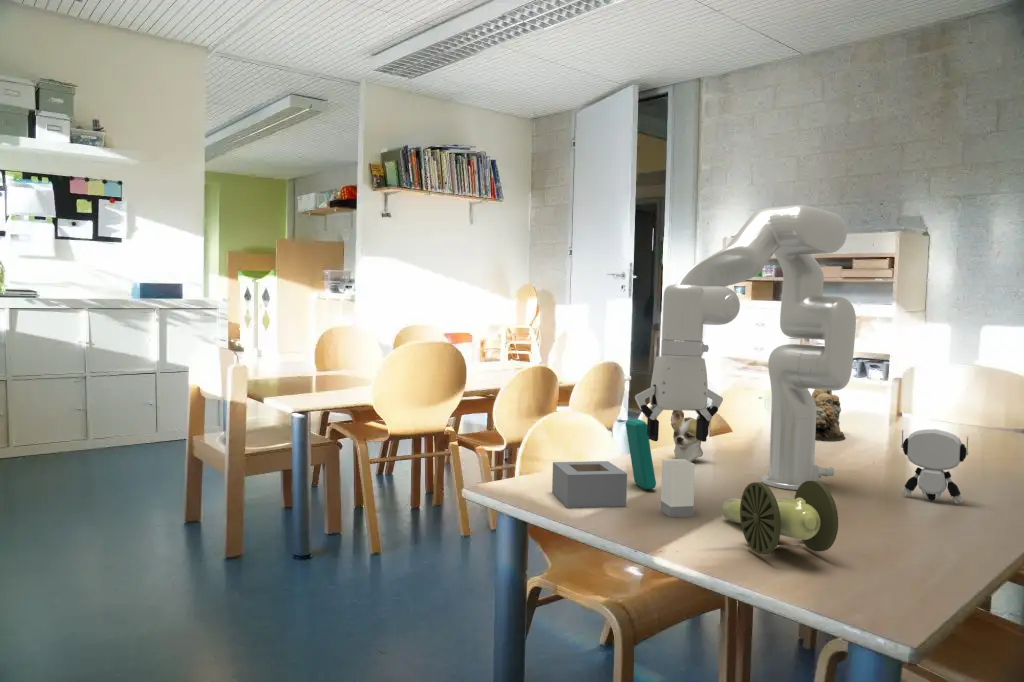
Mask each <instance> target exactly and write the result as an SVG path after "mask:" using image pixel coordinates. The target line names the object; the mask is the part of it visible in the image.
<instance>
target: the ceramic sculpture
mask: <svg viewBox="0 0 1024 682" xmlns="http://www.w3.org/2000/svg"><path fill="white" fill-rule="evenodd" d="M708 407H709V406H706V409H707V408H708ZM670 417H671V418H670V426H671V428H672V429H673V436H672V438H673V442H674V445H675V447H674V450H673V451H674V456H675V459H686V460H688V461H690V462H692V463H693V462H694V461H695V460H696V459H698V458H701V457H702V456H703V454H704V452H703V450H702V447H701V446H702V441H700V440H697V439H696V426H697V419H699V415H698V414H697V417H696V418H694V417H691V416H690V417H689V416H687V417H685V412H684V410H672V413H671V416H670ZM710 422H711V420H710V421H709V424H710Z"/></svg>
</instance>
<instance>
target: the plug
mask: <svg viewBox="0 0 1024 682" xmlns="http://www.w3.org/2000/svg"><path fill="white" fill-rule="evenodd" d="M661 463H662V464H661V490H660V495H661V496H660V512H662V513H663V514H665V515H666V516H668V517H669V518H690V517H694V503H695V502H694V500H695V499H694V498H695V473H696V472H695V470H696V469H695V468H696V464H695V463H693V462H690V461H688V460H686V459H676V458H672V459H671V458H667V459H666V458H665V459H664V458H663V459H661Z"/></svg>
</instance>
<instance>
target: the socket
mask: <svg viewBox="0 0 1024 682" xmlns="http://www.w3.org/2000/svg"><path fill="white" fill-rule="evenodd" d="M551 480H552V484H551V485H552V486H551V488H552V489H551V493H552V495H554V496H555V498H557V500H559V502H560V503H561V504H562V505H564V506H565V508H566V509H577V508H578V509H581V508H582V509H584V508H588V509H589V508H615V507H617V508H618V507H619V508H620V507H622V508H623V507H627V494H628V493H627V492H628V491H627V490H628V473H627V472H625V470H622V469H621V468H619V467H618V466H616V465H615V464H613V463H611V462H610V461H608V460H603V461H601V460H600V461H599V460H598V461H596V460H595V461H553V462H552V479H551Z"/></svg>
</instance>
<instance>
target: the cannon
mask: <svg viewBox="0 0 1024 682" xmlns="http://www.w3.org/2000/svg"><path fill="white" fill-rule="evenodd" d="M778 499H779V500H777V498H776V496H775V493H774V492H773V491H772V489H771V488H770V486H769V485H766V484H764V483H763V482H762V481H761V482H760V481H758V482H755V481H754V482H751V483H749V484H747V485H746V487H744V490H743V492H742V495H741V498H734V497H733V498H729V499H726V500H725V501H724V502H723V504H722V506H721V513H722V515H723V517H724V518H725V519H726V520H727V521H729V522H731V523H734V524H735V523H737V524H740V525H741V531H742V533H743V536H744V538H745V541H746V543H747V545H748V546H749V548H750V549H751V550H752V551H753V552H754V553H756V554H758V555H769V554H771V553H773V552H774V551H775V550H776V547H778V544H779V541H780V537H781V536H782V537H786V538H791V539H796V540H801V541H802V543H803V544H804V546H805V547H806V548H808V549H809V550H811V551H813V552H825V551H828V550H829V549H830V548H831V547H832V546H833V545H834V543H835V541H836V540H837V535H838V531H839V515H838V508H837V505H836V502H835V500H834V497H833V494H832V492H831V491H830V490H829V488H828V487H827V486H826V484H824V483H823V482H822V481H820V482H819V481H806V482H804V483H802V484H801V485H800V487H799V488H798V490H796V492H795V495H794V498H790V497H779V498H778Z"/></svg>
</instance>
